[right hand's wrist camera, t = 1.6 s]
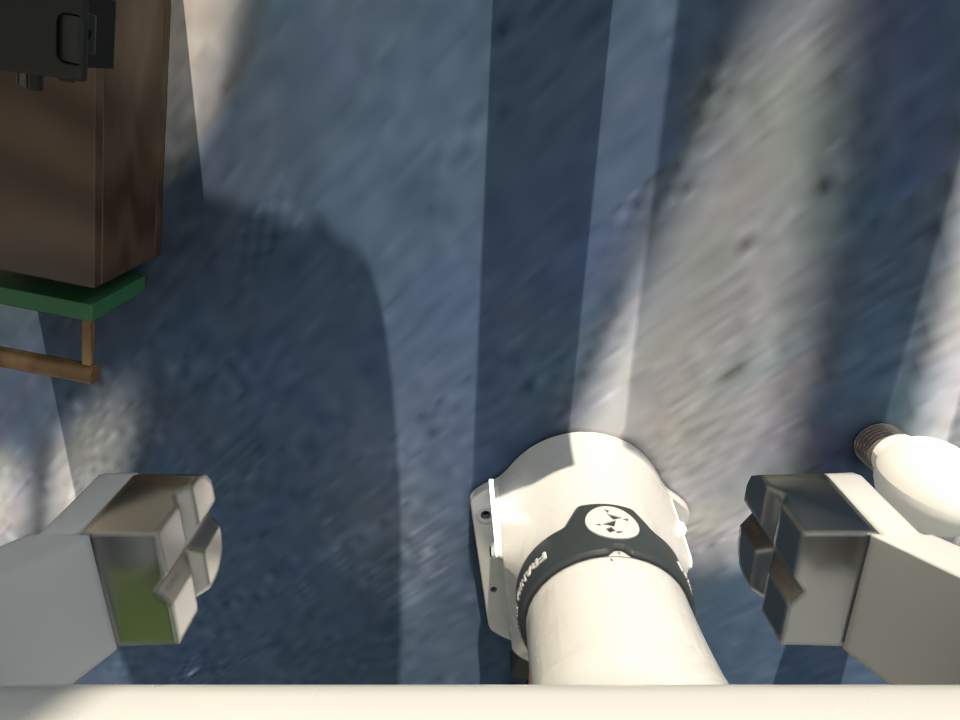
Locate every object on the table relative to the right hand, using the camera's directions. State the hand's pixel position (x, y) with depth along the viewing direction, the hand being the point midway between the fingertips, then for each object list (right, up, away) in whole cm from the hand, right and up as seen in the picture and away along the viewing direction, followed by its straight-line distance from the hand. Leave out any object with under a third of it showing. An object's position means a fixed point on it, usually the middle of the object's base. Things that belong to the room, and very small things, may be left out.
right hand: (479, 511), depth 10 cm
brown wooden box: (-27, +21, +36) cm, 49 cm away
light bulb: (+33, -4, +46) cm, 57 cm away
